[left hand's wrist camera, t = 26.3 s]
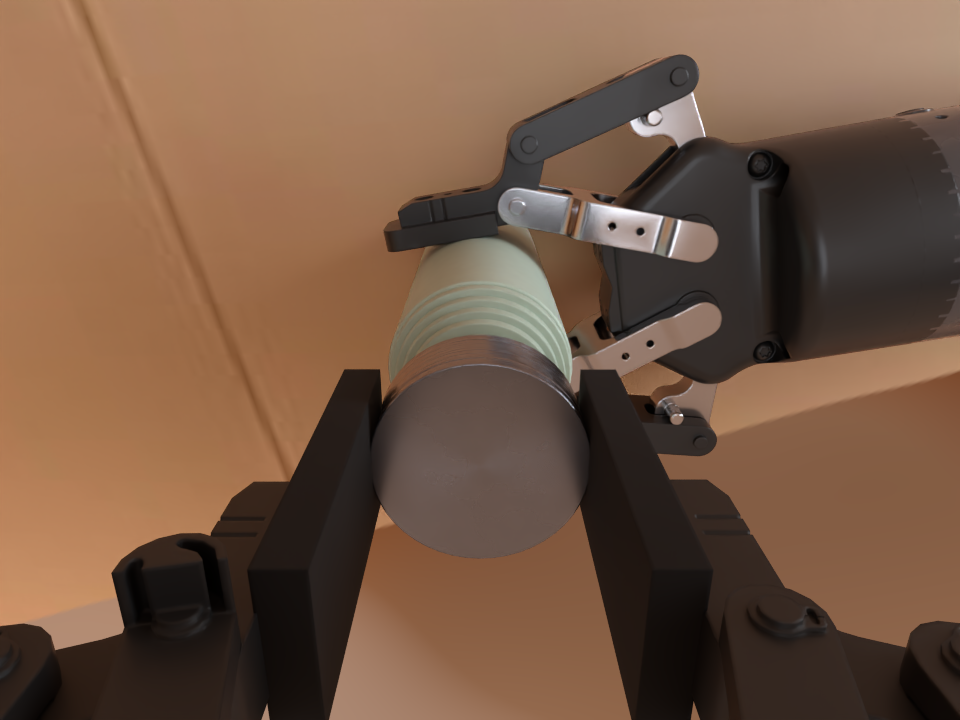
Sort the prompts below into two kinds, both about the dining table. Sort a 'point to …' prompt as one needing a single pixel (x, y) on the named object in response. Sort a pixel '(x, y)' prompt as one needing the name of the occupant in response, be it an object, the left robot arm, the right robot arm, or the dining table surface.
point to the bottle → (481, 299)
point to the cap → (480, 448)
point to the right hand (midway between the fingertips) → (407, 313)
